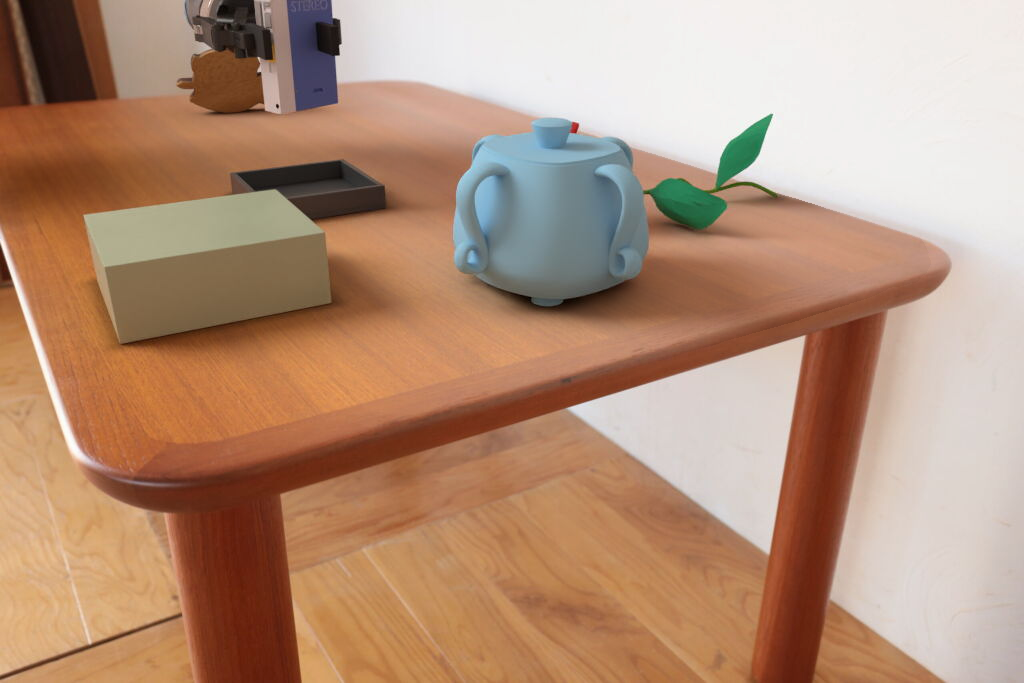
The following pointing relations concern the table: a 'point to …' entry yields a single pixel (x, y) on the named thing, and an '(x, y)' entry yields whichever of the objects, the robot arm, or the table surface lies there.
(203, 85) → the wooden carving
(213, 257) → the block
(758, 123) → the decorative flower
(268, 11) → the walkman
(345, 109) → the table surface
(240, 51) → the robot arm
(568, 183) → the decorative pot
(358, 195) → the tray
